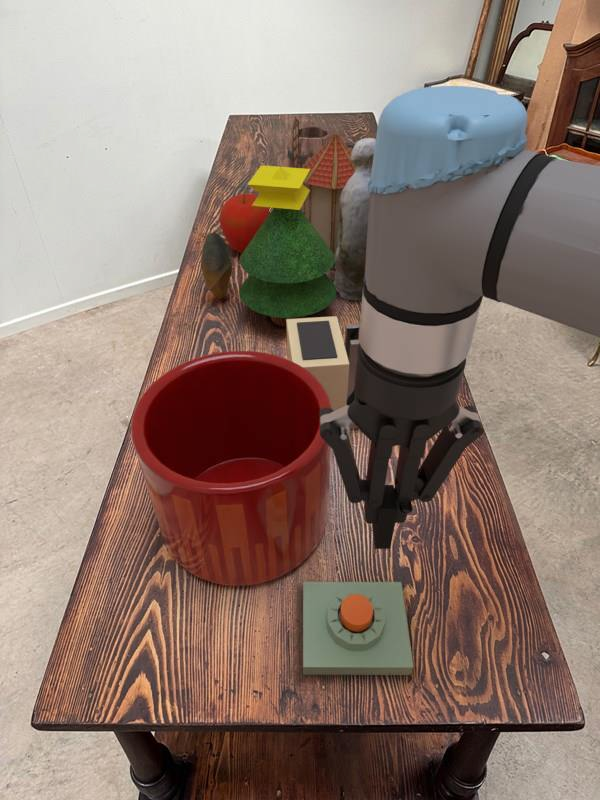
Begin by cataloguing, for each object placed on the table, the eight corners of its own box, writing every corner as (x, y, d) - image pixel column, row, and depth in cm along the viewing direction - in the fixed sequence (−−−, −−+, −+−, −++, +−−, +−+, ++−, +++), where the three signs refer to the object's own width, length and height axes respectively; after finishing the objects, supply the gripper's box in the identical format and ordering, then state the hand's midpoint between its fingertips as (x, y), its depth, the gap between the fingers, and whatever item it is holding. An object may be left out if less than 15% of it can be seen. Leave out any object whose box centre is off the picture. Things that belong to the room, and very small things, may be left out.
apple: (236, 236, 138) (231, 180, 128) (280, 243, 134) (278, 187, 125) (214, 258, 129) (207, 200, 119) (259, 267, 126) (256, 208, 116)
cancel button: (370, 601, 62) (371, 593, 61) (373, 632, 60) (374, 625, 58) (339, 601, 62) (339, 593, 61) (340, 632, 60) (341, 625, 58)
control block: (399, 590, 67) (403, 574, 64) (410, 675, 60) (416, 660, 57) (303, 590, 67) (303, 574, 64) (302, 674, 60) (302, 660, 57)
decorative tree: (325, 350, 103) (331, 194, 82) (229, 337, 106) (212, 184, 85) (342, 296, 116) (350, 151, 96) (256, 287, 119) (246, 144, 99)
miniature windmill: (286, 228, 141) (283, 101, 120) (361, 229, 140) (371, 101, 120) (280, 275, 123) (275, 135, 103) (366, 276, 122) (378, 136, 102)
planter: (160, 465, 82) (131, 362, 68) (307, 441, 85) (308, 339, 72) (164, 608, 65) (127, 510, 52) (346, 571, 69) (357, 470, 55)
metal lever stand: (385, 389, 94) (395, 313, 84) (397, 425, 88) (410, 348, 77) (317, 394, 94) (319, 318, 83) (324, 431, 87) (327, 354, 76)
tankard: (276, 221, 143) (273, 142, 130) (283, 196, 156) (281, 121, 142) (364, 225, 142) (371, 145, 128) (364, 198, 154) (370, 123, 140)
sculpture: (382, 271, 124) (398, 132, 104) (387, 305, 114) (405, 158, 93) (333, 270, 125) (339, 131, 104) (332, 304, 114) (339, 157, 94)
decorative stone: (230, 312, 112) (222, 245, 102) (201, 310, 113) (191, 244, 103) (239, 287, 119) (233, 223, 109) (212, 286, 120) (204, 221, 110)
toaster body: (333, 387, 95) (336, 314, 84) (344, 436, 86) (349, 362, 76) (288, 390, 94) (286, 317, 84) (294, 440, 86) (293, 366, 75)
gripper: (492, 314, 40) (439, 504, 56) (316, 316, 40) (314, 506, 56) (523, 380, 34) (455, 570, 50) (319, 382, 34) (316, 572, 50)
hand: (381, 536), depth 53 cm, fingers closed
